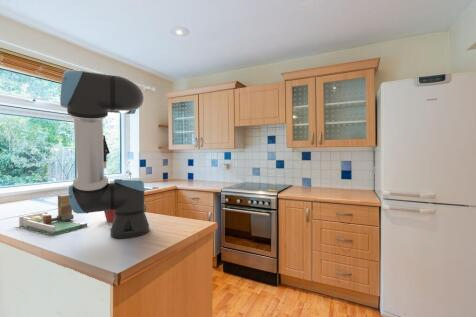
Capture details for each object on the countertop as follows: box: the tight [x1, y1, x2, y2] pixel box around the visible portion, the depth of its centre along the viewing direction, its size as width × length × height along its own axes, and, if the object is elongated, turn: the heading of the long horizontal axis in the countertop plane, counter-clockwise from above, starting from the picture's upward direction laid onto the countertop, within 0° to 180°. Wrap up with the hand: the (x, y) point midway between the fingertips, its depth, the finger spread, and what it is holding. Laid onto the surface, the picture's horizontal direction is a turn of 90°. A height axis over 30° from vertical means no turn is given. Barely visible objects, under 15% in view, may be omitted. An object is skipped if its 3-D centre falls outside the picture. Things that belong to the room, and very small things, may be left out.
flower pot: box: [103, 210, 115, 223], centre depth 121 cm, size 11×11×10 cm
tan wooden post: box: [43, 193, 74, 224], centre depth 114 cm, size 6×11×12 cm, turn 153°
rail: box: [66, 219, 88, 229], centre depth 115 cm, size 24×2×2 cm, turn 63°
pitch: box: [18, 211, 82, 236], centre depth 110 cm, size 30×11×4 cm, turn 63°
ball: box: [31, 216, 42, 222], centre depth 115 cm, size 4×4×4 cm
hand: (94, 168), depth 120 cm, fingers open, 13 cm apart
